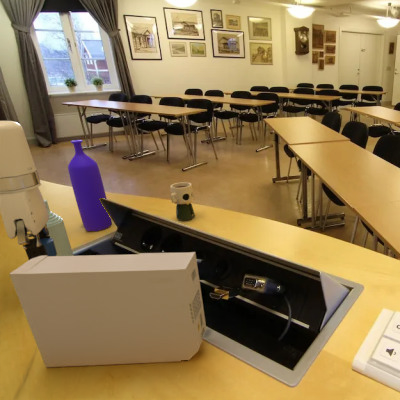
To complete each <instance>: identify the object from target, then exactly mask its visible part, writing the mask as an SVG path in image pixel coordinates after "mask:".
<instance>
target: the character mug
mask: <svg viewBox="0 0 400 400" xmlns="http://www.w3.org/2000/svg"><path fill="white" fill-rule="evenodd" d="M169 187H170V188H169V189H170V193H171V194H170V200H171V203H172V204H175V205H176V206H175V216H176V219H178V220H181V221H188V220H191V219H193V218H195V216H196V215H195V211H194V207H193V204H192V202H193V201H194V197H195V196H194V189H193V185H192V182H187V181H182V182H176V183H173V184H170V186H169Z"/></svg>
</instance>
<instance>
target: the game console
mask: <svg viewBox="0 0 400 400" xmlns="http://www.w3.org/2000/svg"><path fill="white" fill-rule="evenodd" d="M9 277H10V280H11V282H12V285H13V288H14V290H15V293H16V295H17V298H18V300H19V303H20V305H21V308H22V310H23V313H24V315H25V318H26V321H27V323H28V326H29V328H30V331H31V333H32V336H33V339H34V341H35V343H36V347H37V348H38V352H39V355H40V356H41V359H42V362H43V365H44V367H45V368H59V367H60V368H61V367H62V368H64V367H83V366H84V367H85V366H102V365H103V366H108V365H128V364H151V363H168V362H169V363H172V362H182V361H181V360H188V361H190V360H191V359H192V357H194V356H195V355H196V354H197V353H198V352H199V350H200V348H201V345H202V342H203V338H204V336H205V333H206V331H207V325H206V323H207V322H206V316H205V310H204V303H203V302H204V301H203V296H202V288H201V281H200V275H199V268H198V261H197V254H196V251H190V252H140V253H137V254H136V253H135V254H134V253H133V254H96V255H94V254H93V255H91V254H89V255H74V256H48V255H44V256H38V257H35V258H32V259H30V260H29V259H28V260H27V261H26V262H24V263H23V264H20V266H18V267H17V268H16V269H14V270H12V271H11V272H9Z"/></svg>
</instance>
